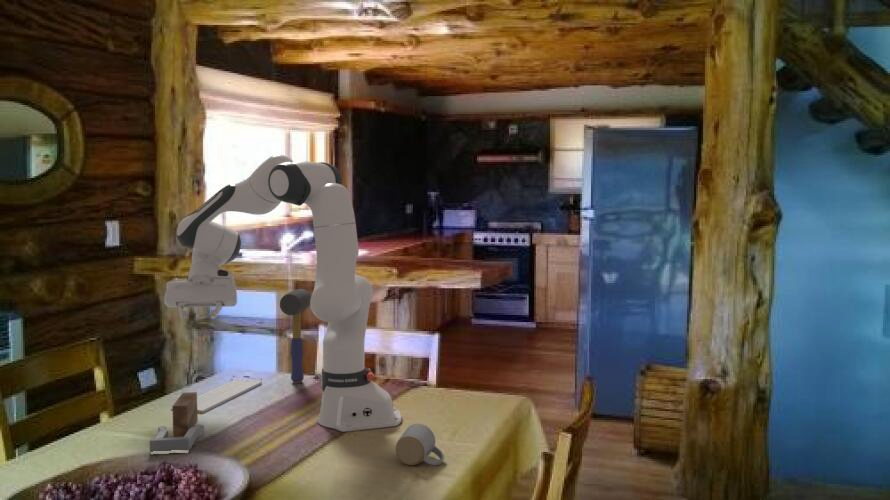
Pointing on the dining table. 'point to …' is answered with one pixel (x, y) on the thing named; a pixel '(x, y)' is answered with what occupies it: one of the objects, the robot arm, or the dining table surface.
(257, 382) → the baseboard molding
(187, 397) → the walnut plank
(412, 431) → the ceramic mug
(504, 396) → the dining table surface
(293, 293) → the rubber mallet
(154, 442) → the grey channel
